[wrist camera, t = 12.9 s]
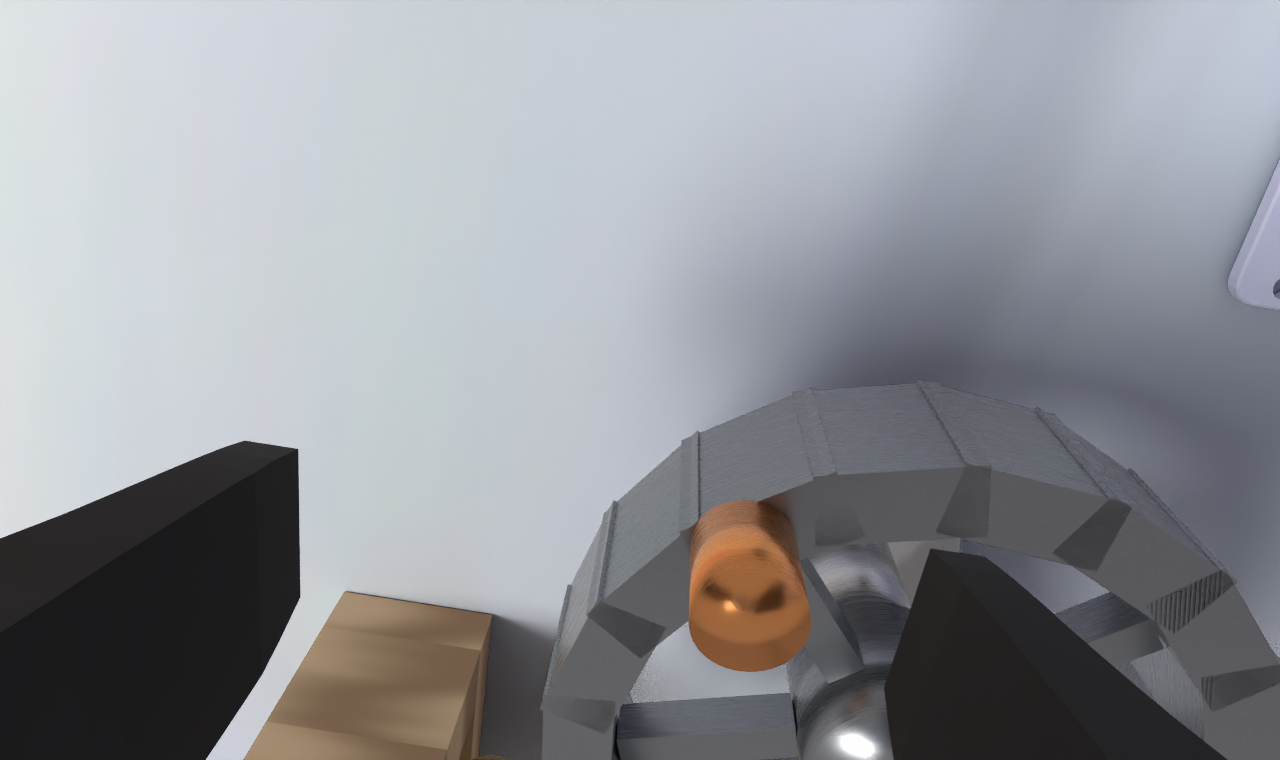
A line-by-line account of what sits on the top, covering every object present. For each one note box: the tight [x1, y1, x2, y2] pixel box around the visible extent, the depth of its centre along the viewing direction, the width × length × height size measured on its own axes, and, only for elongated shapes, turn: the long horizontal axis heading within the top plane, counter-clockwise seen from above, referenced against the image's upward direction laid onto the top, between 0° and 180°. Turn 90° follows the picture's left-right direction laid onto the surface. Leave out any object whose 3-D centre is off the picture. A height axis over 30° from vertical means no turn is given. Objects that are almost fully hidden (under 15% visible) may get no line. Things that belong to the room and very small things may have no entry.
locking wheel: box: [540, 380, 1280, 760], centre depth 15 cm, size 10×12×5 cm
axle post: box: [808, 538, 961, 609], centre depth 20 cm, size 6×6×4 cm
